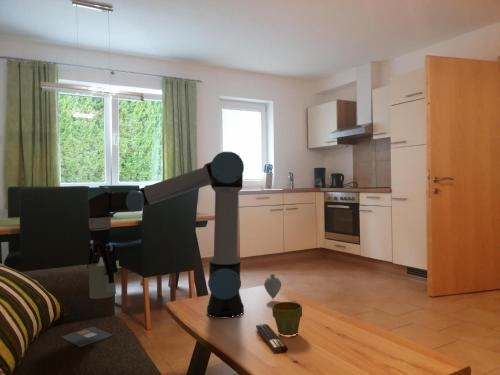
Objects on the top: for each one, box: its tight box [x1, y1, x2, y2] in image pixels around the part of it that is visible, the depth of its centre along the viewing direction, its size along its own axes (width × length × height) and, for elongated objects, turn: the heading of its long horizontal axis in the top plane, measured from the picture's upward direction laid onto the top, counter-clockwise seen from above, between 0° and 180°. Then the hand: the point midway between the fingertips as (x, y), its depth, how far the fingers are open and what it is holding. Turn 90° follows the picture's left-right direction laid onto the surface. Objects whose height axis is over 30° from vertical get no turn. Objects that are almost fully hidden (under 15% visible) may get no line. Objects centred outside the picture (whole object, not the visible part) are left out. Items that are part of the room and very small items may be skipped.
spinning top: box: [263, 273, 282, 299], centre depth 168 cm, size 8×8×12 cm
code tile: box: [60, 326, 114, 348], centre depth 132 cm, size 14×12×1 cm
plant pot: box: [271, 301, 303, 335], centre depth 130 cm, size 10×10×10 cm
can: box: [87, 261, 117, 300], centre depth 138 cm, size 9×9×12 cm
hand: (102, 289), depth 138 cm, fingers closed on can, 9 cm apart
